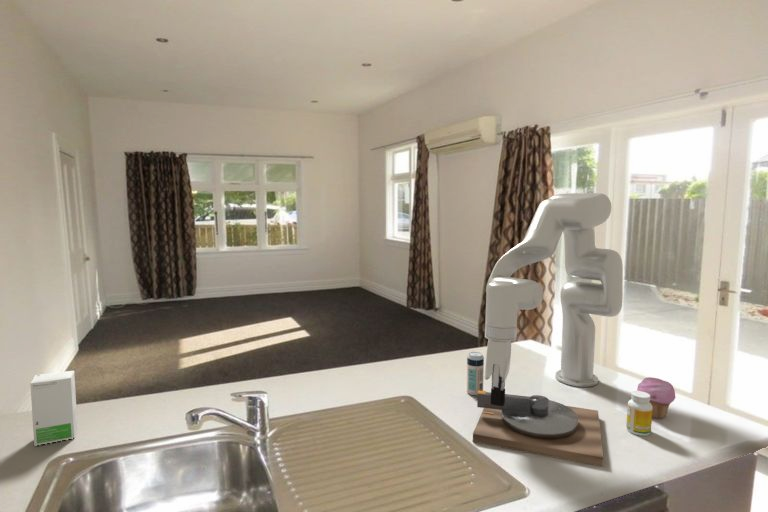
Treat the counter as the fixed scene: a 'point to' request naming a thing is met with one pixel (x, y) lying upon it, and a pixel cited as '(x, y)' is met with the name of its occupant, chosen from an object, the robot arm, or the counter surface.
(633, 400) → the supplement bottle
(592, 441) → the dial base
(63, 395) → the skincare box
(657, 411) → the cupcake
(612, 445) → the counter surface
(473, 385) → the pill bottle
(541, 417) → the dial
